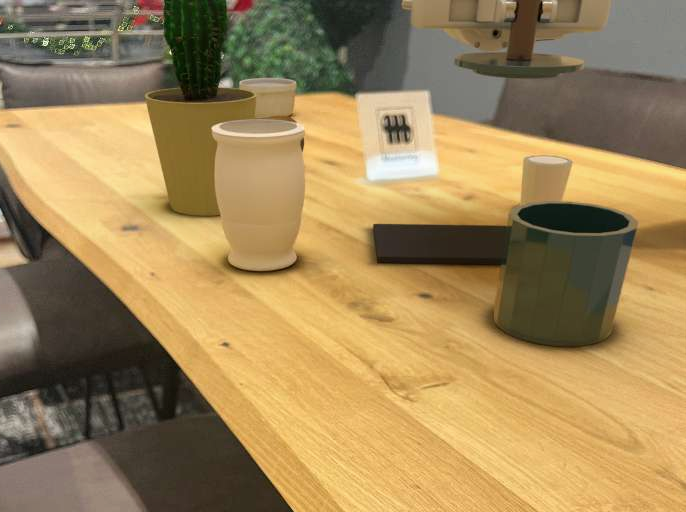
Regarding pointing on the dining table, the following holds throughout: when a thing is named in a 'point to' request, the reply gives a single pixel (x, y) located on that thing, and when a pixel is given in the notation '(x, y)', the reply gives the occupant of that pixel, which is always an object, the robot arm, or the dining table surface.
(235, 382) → the dining table surface
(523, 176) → the beige cylinder
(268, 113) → the ramekin
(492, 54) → the jar lid
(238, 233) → the jar
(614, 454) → the dining table surface
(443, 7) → the robot arm
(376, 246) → the mat
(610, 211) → the storage jar
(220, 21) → the potted cactus
